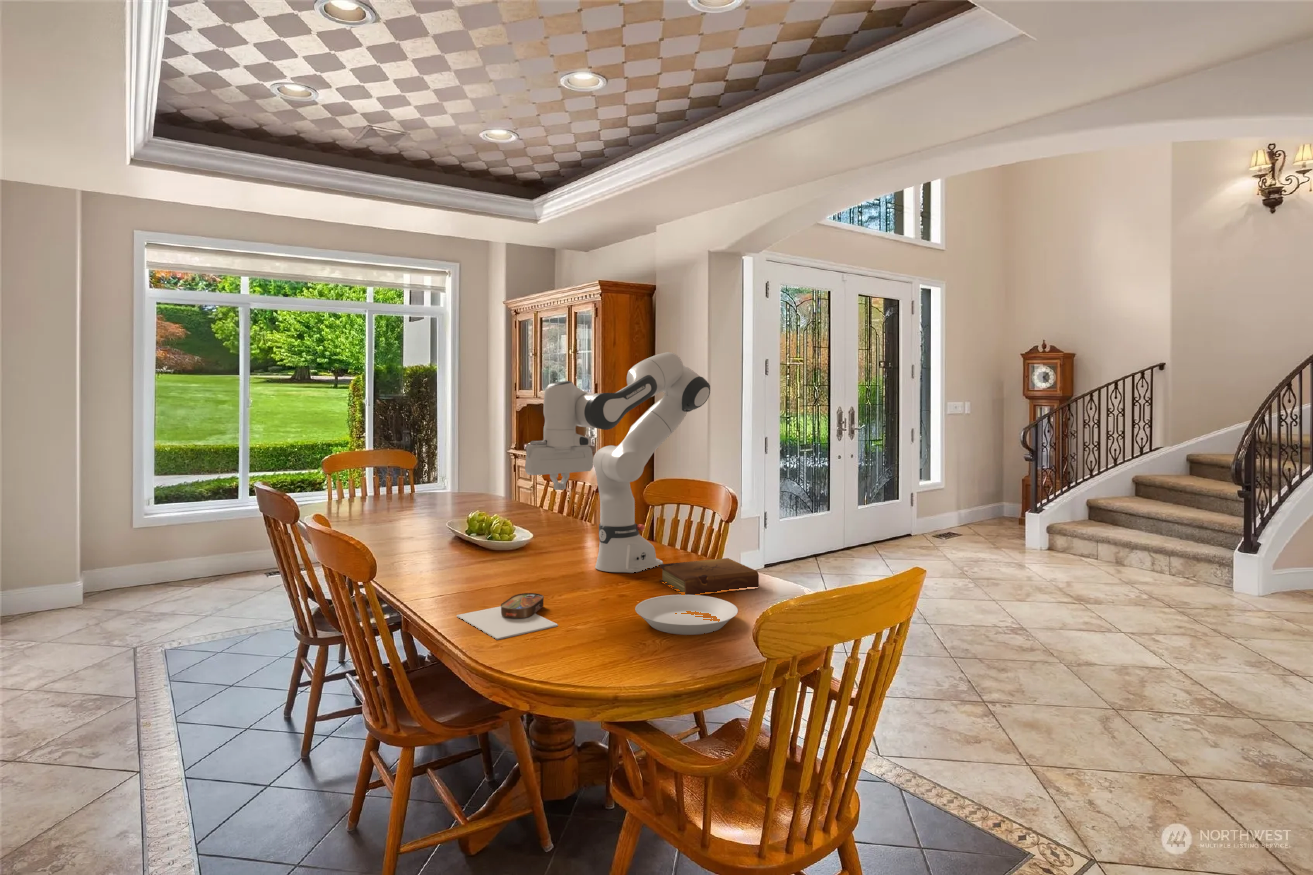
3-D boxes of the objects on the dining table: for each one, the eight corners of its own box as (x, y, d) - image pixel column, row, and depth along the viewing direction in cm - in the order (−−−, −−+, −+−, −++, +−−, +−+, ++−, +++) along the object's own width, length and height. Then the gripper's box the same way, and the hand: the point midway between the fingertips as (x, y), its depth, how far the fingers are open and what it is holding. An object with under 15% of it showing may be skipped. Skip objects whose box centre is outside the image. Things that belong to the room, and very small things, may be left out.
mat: (514, 605, 189) (514, 603, 189) (558, 625, 172) (558, 624, 172) (456, 616, 179) (456, 615, 179) (496, 639, 162) (496, 638, 162)
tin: (527, 609, 175) (494, 605, 176) (526, 622, 175) (494, 617, 177) (548, 593, 189) (518, 589, 191) (548, 605, 190) (518, 601, 191)
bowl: (620, 614, 182) (620, 600, 182) (708, 604, 192) (708, 590, 192) (659, 646, 159) (659, 630, 159) (757, 632, 169) (757, 617, 169)
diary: (685, 600, 197) (685, 579, 197) (659, 583, 215) (659, 564, 214) (758, 590, 206) (758, 571, 206) (727, 575, 223) (727, 557, 223)
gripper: (532, 441, 190) (532, 493, 191) (596, 439, 203) (596, 487, 204) (520, 440, 195) (520, 491, 196) (583, 438, 208) (583, 485, 209)
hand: (559, 489), depth 200 cm, fingers closed
